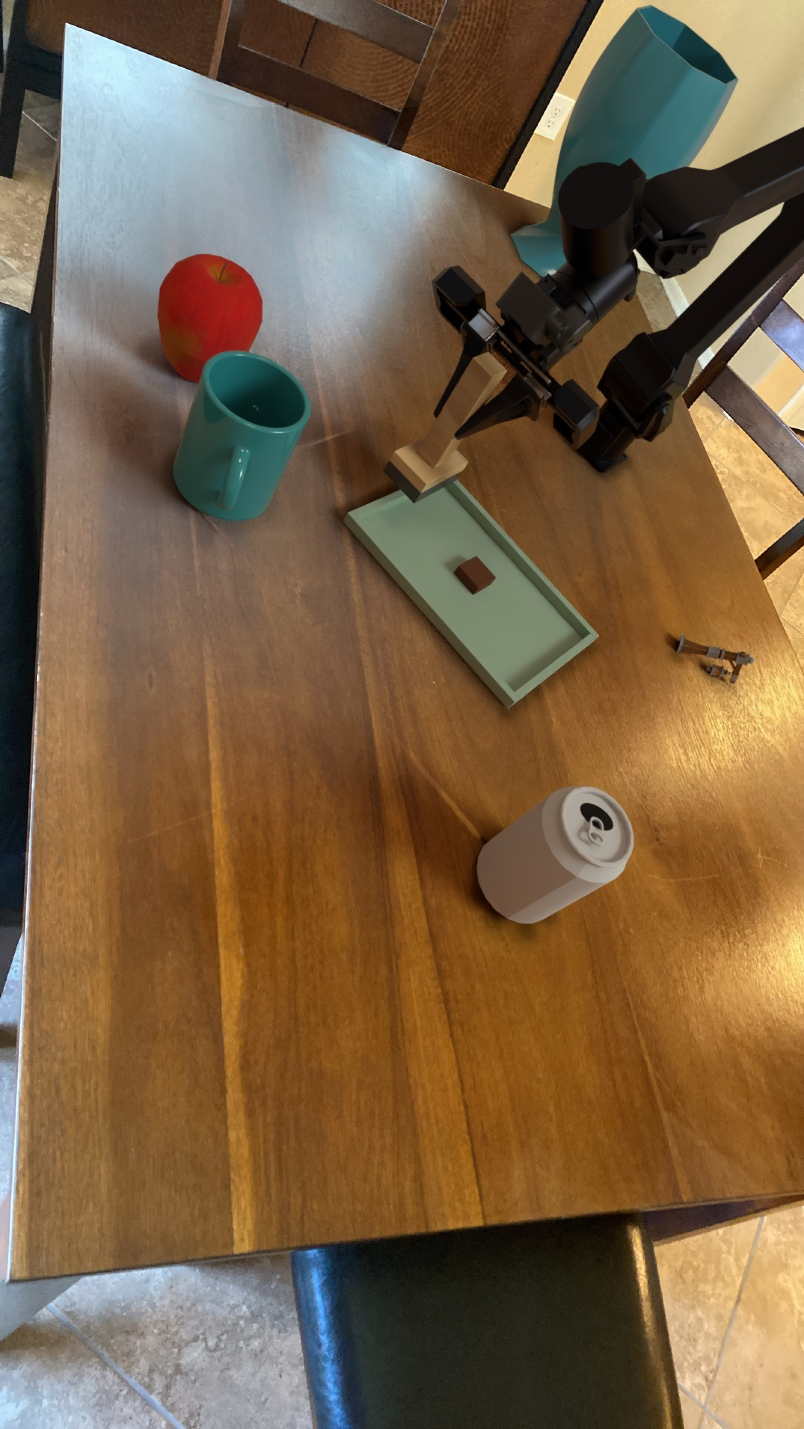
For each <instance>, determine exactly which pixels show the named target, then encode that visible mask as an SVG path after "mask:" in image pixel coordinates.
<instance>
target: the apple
mask: <svg viewBox="0 0 804 1429" xmlns="http://www.w3.org/2000/svg"><path fill="white" fill-rule="evenodd" d="M158 290H159V291H158V303H157V312H156V313H157V314H156V317H157V323H158V324H157V325H158V331H159V337H160V345H161V348H162V352H163V354H164V356H165V358H166V359H167V361H168V362H169V363H170V365H171V367H173V370H175V371H176V373H178V374H179V376H180V377H182V378H183V379H184V380H187V381H189V382H192V383H196V384H198V383H199V379H200V376H201V373H202V370H203V367H204V365H205V363H206V362H207V361H208V360H209V359H210V358H211V357H213V356H214V355H216V354H218V353H221V352H225V351H246V352H250V350H251V347H252V345H253V344H254V342H255V340H256V337H257V335H258V334H259V332H260V328H261V326H262V323H263V308H264V307H263V305H264V304H263V303H264V302H263V298H262V295H261V292H260V288H259V287H258V285H257V283H256V281H255V280H254V277H253V275H251V274H250V273H249V271H247V270H246V269H245V268H244V267H243V266H241V265H239V264H238V263H236V262H235V261H233V260H230V259H229V258H226V257H224V256H222V255H217V254H211V253H196V254H193V255H190V256H187V257H184V258H182V259H180V260H178V261H176V262H175V263H174V265H173V266H171V268H170V270H169V271H168V272H167V273H166V275H164V278H163V280H162V282H161V284H160V286H159V289H158Z"/></svg>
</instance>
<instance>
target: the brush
mask: <svg viewBox="0 0 804 1429" xmlns="http://www.w3.org/2000/svg"><path fill="white" fill-rule="evenodd" d="M507 372H508V369H506V368H505V367H504V366H503V364H501V363H500V362H499V360H498V359H496V358H495V356H493V354H492V355H491V354H490V353H489V352H486V353H484V354H481V355H479V356H476V357H474V358H473V359H472V360H471V362H470V364H469V365H468V367H467V369H466V370H465V372H464V374H463V375H462V377H461V379H460V380H459V382H458V384H457V385H456V387H455V389H454V390H453V392H452V394H451V395H450V397H449V399H448V400H447V402H446V404H445V405H444V407H443V409H442V411H441V412H440V414H439V416H438V417H437V418H435V420H434V422H433V424H432V425H431V427H430V429H429V430H428V432H426V435H425V436H422V437H421V438H419V439H417V440H415V441H412V442H411V443H409V444H406V445H404V446H402V447H400V448H398V449H396V450H394V451H393V452H392V454H391V456H390V458H389V460H388V461H387V463H386V465H385V467H384V469H383V470H382V472H383V473H384V474H385V475H386V476H387V477H388V478H389V479H390V480H391V482H393V484H394V485H395V486H396V487H397V488H398V490H401V491H402V492H403V493H404V494H405V495H406V496H407V497H408V498H409V499H410V500H411V501H412V502H413V503H414V504H415V503H416V502H418V501H420V500H422V499H424V498H426V497H427V496H429V495H431V494H433V493H435V492H436V491H438V490H440V489H442V488H444V487H446V486H447V485H449V484H451V483H453V482H455V481H456V480H458V479H459V477H460V476H461V474H462V472H463V471H464V470H465V468H466V467H467V465H468V464H469V461H468V459H466V457H465V456H464V455H462V453H460V451H459V450H458V447H459V446H460V444H461V442H462V441H463V440H464V438H462V439H460V440H457V439H456V438H455V436H454V434H455V432H456V431H457V430H458V429H459V428H460V427H461V426H462V425H463V424H464V423H465V422H466V421H467V420H468V419H469V418H470V417H472V416H473V415H474V414H475V413H476V412H478V411H479V410H480V409H481V408H482V407H483V406H485V405H486V404H487V403H488V402H489V399H491V397H492V395H493V393H494V392H495V390H496V389H497V387H498V386H499V384H500V382H501V381H502V379H503V378H504V377H505V375H506V373H507Z"/></svg>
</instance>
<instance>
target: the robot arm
mask: <svg viewBox="0 0 804 1429" xmlns="http://www.w3.org/2000/svg"><path fill="white" fill-rule="evenodd" d="M781 204H782V207H781V209H780V213H779V214H778V215H777V216H776V217H775V218H774V219H773V220H772V221H771V222H770V223H769V224H768V225H767V226H766V228H764V229H763V230H762V231H761V232H760V233H759V235H757V236H756V237H755V239H753V241H751V242H750V244H749V245H748V246H747V247H745V248H744V250H743V251H741V253H740V254H739V255H738V256H737V257H736V258H734V260H733V261H732V262H731V263H730V264H729V265H728V266H727V267H725V269H724V270H723V271H722V272H721V273H720V274H719V275H718V276H717V277H716V278H715V279H714V280H713V281H712V282H711V283H710V284H709V285H708V286H707V287H706V288H705V289H704V290H703V291H702V292H701V293H700V294H699V295H698V296H697V297H696V298H695V299H694V300H693V301H692V302H691V303H690V304H689V305H688V306H687V307H686V308H685V310H683V311H682V312H681V313H680V314H679V315H678V317H676V318H675V319H674V320H673V321H672V323H671V324H669V325H668V326H667V327H666V328H664V329H660V330H657V331H654V332H650V333H647V332H646V331H642V332H640V333H637V334H635V336H634V337H633V338H632V339H631V341H629V343H628V344H627V345H626V346H625V347H624V348H622V349H620V350H618V351H617V352H616V353H615V354H614V355H613V356H612V357H611V358H610V360H609V361H608V363H607V365H606V367H605V369H604V371H603V373H602V376H601V377H600V379H599V381H598V383H597V385H596V389H597V390H598V391H599V392H600V393H601V394H602V395H603V397H604V398H605V399H606V400H605V401H604V403H603V404H602V405H600V404H598V402H597V401H595V400H594V398H592V396H591V395H589V394H588V393H587V391H586V390H585V389H584V388H582V387H581V386H580V385H579V383H577V381H576V380H574V379H573V378H571V379H569V380H567V381H565V382H564V383H563V384H562V385H561V384H560V383H559V381H557V379H556V378H554V377H553V376H552V375H551V373H550V370H552V369H553V368H554V366H556V365H557V363H559V362H560V361H561V360H562V359H563V358H564V357H565V356H566V355H569V353H571V352H572V351H573V350H576V348H578V346H579V345H580V344H582V342H583V341H584V337H585V336H586V335H587V334H589V332H590V331H591V330H592V329H593V328H594V327H596V326H597V324H599V323H600V322H601V321H602V320H603V319H604V318H605V317H606V316H607V315H608V314H609V313H610V312H611V311H612V310H613V309H614V308H615V307H616V306H617V305H618V304H619V303H620V302H621V301H622V300H623V301H625V302H626V303H629V302H631V301H632V300H633V298H634V296H635V294H636V292H637V286H638V282H639V277H640V274H641V272H642V271H641V269H640V268H639V263H638V258H637V255H636V254H635V252H634V251H636V252H637V253H638V254H639V256H640V257H641V258H642V259H643V260H644V262H645V263H646V264H647V265H648V266H649V268H650V269H651V270H652V271H653V272H654V273H655V275H657V276H658V277H659V278H661V280H669V279H672V278H675V277H677V276H682V275H686V274H687V273H688V272H690V271H691V270H692V269H694V268H696V267H698V265H699V264H700V263H701V262H702V261H703V260H705V259H707V258H708V257H709V256H710V255H711V253H712V251H713V249H714V248H715V246H716V244H717V243H718V241H719V239H720V237H721V236H722V235H723V234H725V233H726V232H728V231H729V230H731V229H733V228H734V227H736V226H738V225H740V224H743V223H744V222H747V221H749V220H751V219H753V218H755V217H757V216H759V215H760V214H763V213H764V212H766V211H769V210H770V209H772V208H775V207H777V206H779V205H781ZM558 208H559V218H560V228H561V237H562V247H563V254H564V256H565V258H566V262H565V263H564V264H563V265H562V266H561V267H560V268H559V269H558V270H557V271H556V272H555V273H554V274H553V275H552V276H551V275H550V274H549V273H548V274H547V275H546V276H544V277H541V278H540V279H538V281H537V282H536V283H535V282H534V281H533V280H532V279H531V277H529V276H528V275H527V274H525V272H523V271H522V270H521V271H520V272H519V273H518V274H517V276H516V277H515V278H514V279H513V280H512V281H511V283H510V284H509V285H508V287H507V288H506V289H505V290H504V291H503V293H502V295H501V296H500V297H499V298H498V299H497V301H496V302H495V304H494V305H495V306H496V308H498V309H499V310H500V311H499V312H500V318H501V320H503V321H504V322H503V323H502V324H500V323H499V322H498V321H497V320H496V318H495V317H493V316H492V314H491V313H489V312H488V311H487V299H486V298H487V297H486V291H485V289H483V287H482V286H481V285H479V283H478V282H476V280H474V278H473V277H471V276H470V274H469V273H467V271H466V270H465V269H463V268H462V267H461V265H459V264H457V265H452V266H448V267H444V268H443V269H442V270H441V271H440V272H439V273H438V274H437V275H436V276H435V277H434V278H433V279H432V280H431V282H430V283H431V287H432V292H433V297H434V302H435V308H436V311H438V314H439V315H440V316H441V317H442V318H443V319H444V320H445V321H446V322H447V323H448V324H449V325H450V326H451V328H453V329H454V330H455V332H457V333H458V335H460V336H461V343H462V351H461V354H460V357H459V359H458V362H457V365H456V367H455V369H454V372H453V373H452V375H451V378H450V380H449V381H448V383H447V386H446V388H445V389H444V391H443V393H442V395H441V397H440V399H439V401H438V402H437V405H436V406H435V409H434V411H433V417H434V418H435V419H436V418H437V417H438V416H439V414H440V412H441V411H442V409H443V407H444V405H445V404H446V402H447V400H448V399H449V397H450V395H451V394H452V392H453V390H454V389H455V387H456V385H457V384H458V382H459V380H460V379H461V377H462V375H463V374H464V372H465V370H466V369H467V367H468V365H469V364H470V362H471V360H472V359H473V358H474V357H476V356H479V355H481V354H484V353H486V352H489V353H490V354H491V355H492V356H493V355H494V354H495V353H496V354H497V355H498V356H499V357H500V358H501V359H502V360H503V362H504V363H505V364H507V365H508V367H510V368H511V370H512V371H513V372H514V373H515V374H514V375H513V377H512V378H511V379H510V380H509V382H508V383H507V384H506V385H505V386H504V388H503V389H502V390H501V391H500V392H499V393H498V394H497V395H495V396H494V397H493V398H492V399H491V400H488V401H487V403H486V404H485V406H483V407H482V408H481V409H480V410H479V411H478V412H476V413H475V414H474V415H473V416H472V417H470V418H469V419H468V420H467V421H466V422H465V423H464V424H463V425H462V426H461V427H460V428H459V429H458V430H457V431H456V432H455V434H454V436H455V438H456V439H457V440H460V439H462V438H463V439H465V438H468V437H470V436H472V435H474V434H478V433H480V432H483V431H485V430H487V429H489V428H491V427H494V426H497V425H500V424H502V423H507V422H510V421H514V420H518V419H521V418H526V417H527V418H529V420H531V421H532V422H536V421H538V420H539V418H540V414H541V413H543V411H544V410H545V409H546V408H547V407H549V408H550V409H551V410H552V411H553V412H554V413H553V414H552V429H553V430H554V431H555V432H556V433H557V435H559V436H560V437H561V438H562V439H563V440H564V442H566V443H567V445H569V447H570V448H572V449H573V450H576V451H577V450H578V449H579V450H580V452H581V453H582V454H583V455H584V456H585V457H586V459H588V460H589V461H590V463H591V464H593V466H595V467H596V469H597V470H598V471H599V472H600V473H602V474H603V473H606V472H608V471H609V470H612V469H614V468H615V467H617V466H619V465H621V464H623V463H625V462H626V461H627V460H628V458H629V457H628V455H627V454H626V453H625V451H626V450H627V449H628V448H629V447H630V446H631V444H632V443H633V442H634V441H635V440H642V439H643V440H645V441H646V442H648V443H652V442H654V441H655V439H656V438H657V437H658V436H660V435H661V434H663V433H664V432H665V431H666V430H667V428H669V427H670V426H671V424H672V423H673V418H674V410H675V403H676V401H677V399H678V398H679V397H680V396H681V395H682V394H683V393H684V392H685V391H686V390H687V389H688V387H689V384H690V381H691V378H692V375H693V372H694V369H695V366H696V363H697V360H698V359H699V358H700V357H701V356H702V355H703V354H704V353H705V352H706V351H707V350H708V349H709V348H710V347H711V346H712V345H713V344H714V343H715V342H717V340H719V339H720V338H721V337H722V336H723V335H724V333H726V332H727V331H728V330H729V329H730V328H731V327H732V326H733V325H734V324H735V323H736V322H737V321H738V320H739V319H740V318H741V317H742V316H743V315H744V314H746V312H747V311H748V310H750V309H751V307H753V306H754V305H755V304H756V303H757V302H758V301H759V300H760V299H761V298H762V297H763V296H764V295H765V294H766V293H767V292H768V291H769V290H770V289H772V288H773V286H774V285H775V284H776V283H777V282H779V281H780V280H781V279H782V278H783V277H784V276H785V275H786V274H787V273H788V272H789V271H790V270H791V269H792V268H793V267H794V266H795V265H796V264H798V262H799V261H800V260H802V259H803V258H804V126H802V127H799V128H798V129H795V130H794V131H791V132H789V133H787V134H785V135H783V136H781V137H779V138H776V139H774V140H773V141H771V142H768V143H766V144H764V145H762V146H760V147H758V148H756V149H754V150H752V151H749V152H748V153H745V154H743V155H741V156H739V157H738V158H735V159H733V160H731V161H729V162H727V163H725V164H722V165H721V166H718V167H716V168H713V169H706V168H698V167H692V166H689V167H682V168H678V169H675V170H672V171H669V172H665V173H662V174H659V175H656V176H654V177H652V178H650V179H646V173H645V172H644V171H643V170H642V169H641V168H640V166H639V165H638V164H637V163H636V162H635V161H634V159H633V158H629V159H627V160H626V161H625V162H623V163H622V164H621V165H619V166H618V165H616V164H612V163H609V162H597V163H591V164H588V165H585V166H582V165H581V166H579V167H578V168H576V169H575V170H573V171H572V172H571V173H570V174H569V175H568V176H567V177H566V179H565V180H564V182H563V183H562V185H561V188H560V190H559V194H558ZM463 439H462V440H463Z"/></svg>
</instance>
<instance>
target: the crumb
mask: <svg viewBox="0 0 804 1429" xmlns="http://www.w3.org/2000/svg"><path fill="white" fill-rule="evenodd" d="M454 574H455V575H456V576H457V577H458V579H459V580H460V581H461V582H462V583H463V584H464V585H465V586H466V587H467V589H468V590H469V591H470V592H471V593H472V594H473V595H474V594H476V593H477V592H479V591H481V590H482V589H484V588H486V587H487V586H489V585H491V583H492V582H493V581H494V580H495V579H496V577H495V576H494V575H493V573H492V572H491V571H490V570H489V569H488V568H487V567H486V566H485V565H484V563H483V562H482V561H481V560H480V559H479V558H478V557H477V556H475V557H473V558H472V559H470V560H468V561H466V562H464V563H463V564H461V565H459V566H458V567H457V569H456V570H455V571H454Z"/></svg>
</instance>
